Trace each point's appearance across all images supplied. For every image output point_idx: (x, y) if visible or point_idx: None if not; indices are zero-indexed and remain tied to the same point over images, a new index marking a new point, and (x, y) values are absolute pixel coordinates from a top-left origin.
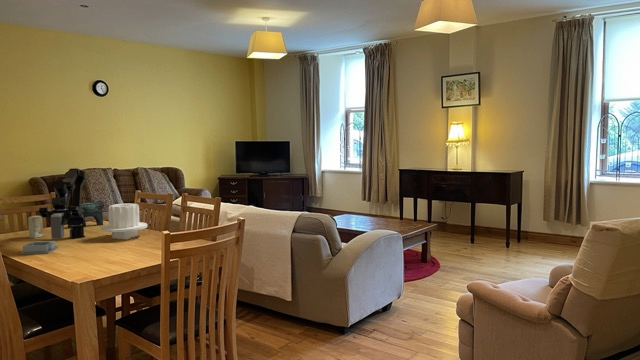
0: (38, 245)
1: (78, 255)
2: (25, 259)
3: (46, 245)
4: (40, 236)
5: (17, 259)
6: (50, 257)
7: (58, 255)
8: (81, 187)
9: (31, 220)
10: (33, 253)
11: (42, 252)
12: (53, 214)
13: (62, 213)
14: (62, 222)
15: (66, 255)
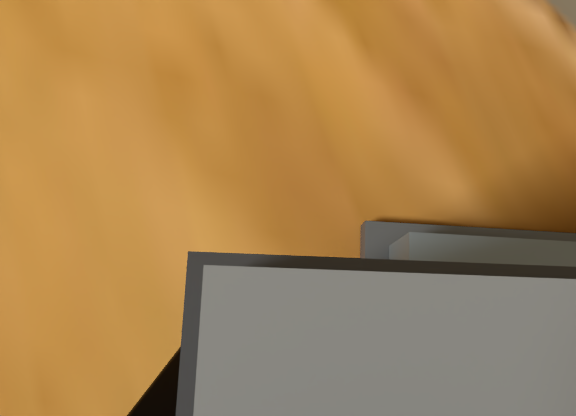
0: (521, 263)
1: (9, 69)
2: (495, 31)
3: (411, 235)
4: None
5: (572, 49)
6: (280, 53)
7: (224, 121)
8: None
9: None
10: (520, 233)
11: (426, 225)
12: None
13: None
14: (166, 366)
15: (138, 100)
